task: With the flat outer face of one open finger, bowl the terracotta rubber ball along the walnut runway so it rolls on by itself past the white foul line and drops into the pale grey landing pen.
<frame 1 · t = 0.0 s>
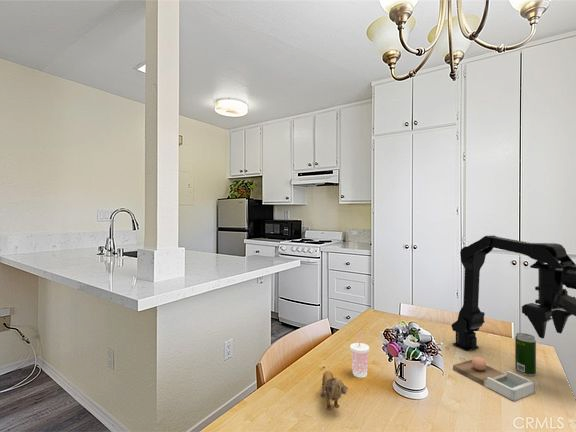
hand: (550, 335, 94), 15 cm above the table, tool pointing down, fingers open, 9 cm apart
beverage cup: (359, 374, 101), on the table
runway: (479, 374, 99), on the table
lion figurine: (332, 402, 86), on the table
ball: (478, 363, 100), point 3 cm above the table, touching runway
landing pen: (510, 390, 91), on the table
beer can: (525, 372, 101), on the table
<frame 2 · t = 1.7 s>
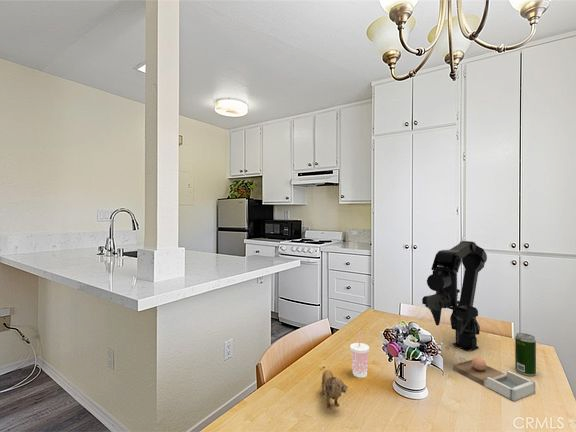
hand: (448, 329, 110), 11 cm above the table, tool pointing down, fingers open, 9 cm apart
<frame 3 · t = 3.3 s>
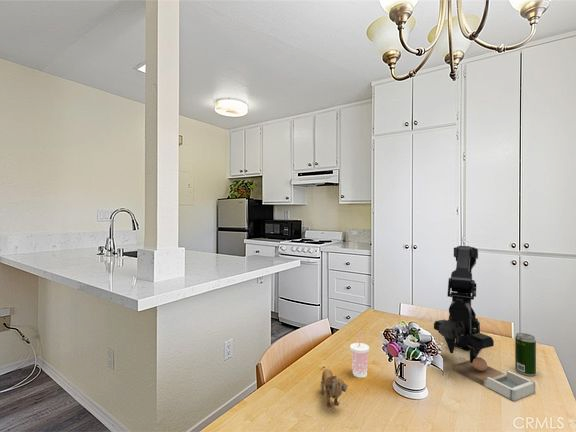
hand: (461, 357, 105), 3 cm above the table, tool pointing down, fingers open, 7 cm apart
ball: (479, 364, 99), point 3 cm above the table, tilted 9°, touching gripper, runway
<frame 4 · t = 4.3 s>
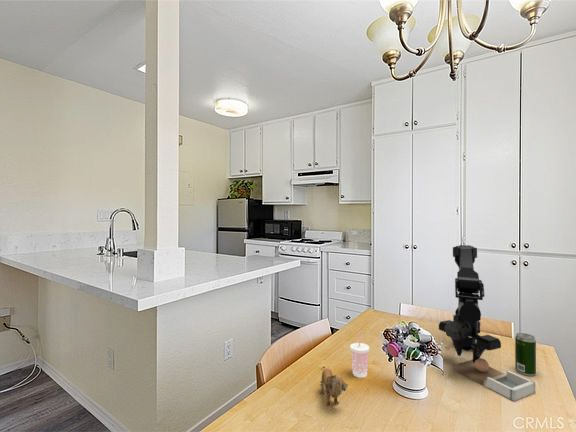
hand: (467, 359, 103), 3 cm above the table, tool pointing down, fingers open, 5 cm apart
ball: (481, 365, 99), point 3 cm above the table, tilted 28°, touching gripper, runway
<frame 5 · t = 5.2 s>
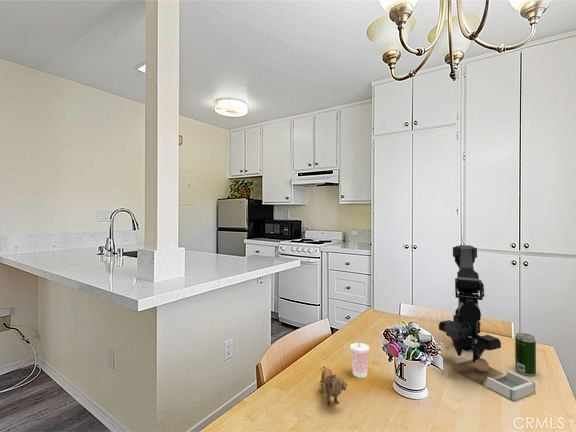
hand: (467, 359, 103), 3 cm above the table, tool pointing down, fingers open, 5 cm apart
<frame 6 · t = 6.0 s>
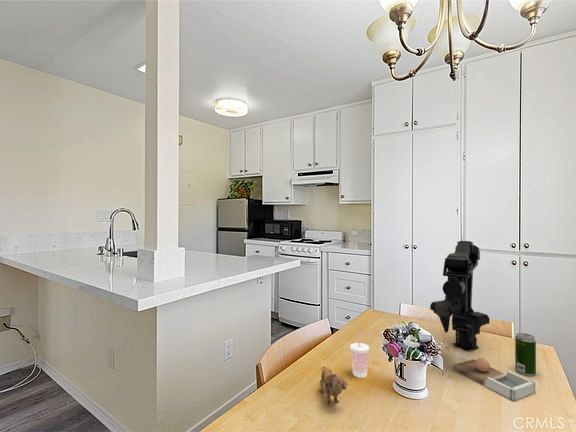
hand: (457, 336, 106), 10 cm above the table, tool pointing down, fingers open, 9 cm apart
ball: (482, 364, 99), point 3 cm above the table, tilted 30°, touching runway
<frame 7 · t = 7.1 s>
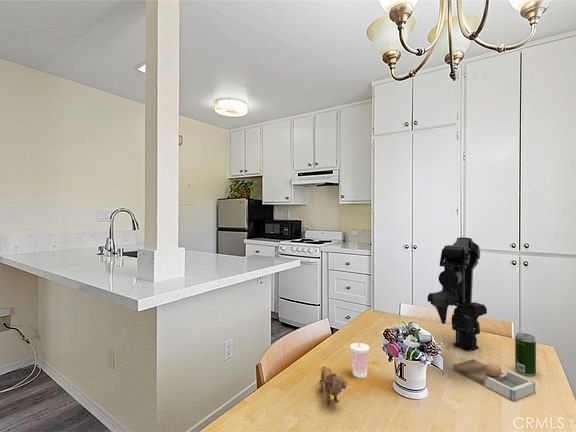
hand: (455, 328, 105), 13 cm above the table, tool pointing down, fingers open, 9 cm apart
ball: (493, 369, 96), point 3 cm above the table, tilted 124°, touching runway
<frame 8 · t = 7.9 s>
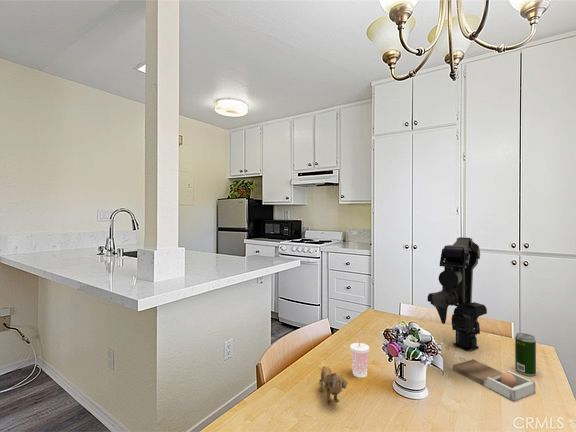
hand: (455, 328, 105), 13 cm above the table, tool pointing down, fingers open, 9 cm apart
ball: (508, 379, 92), point 2 cm above the table, tilted 104°, touching landing pen
at the end: ball inside the target area (1.6 cm from its centre), point 2.2 cm above the table; ball moved 10.6 cm from its start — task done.
